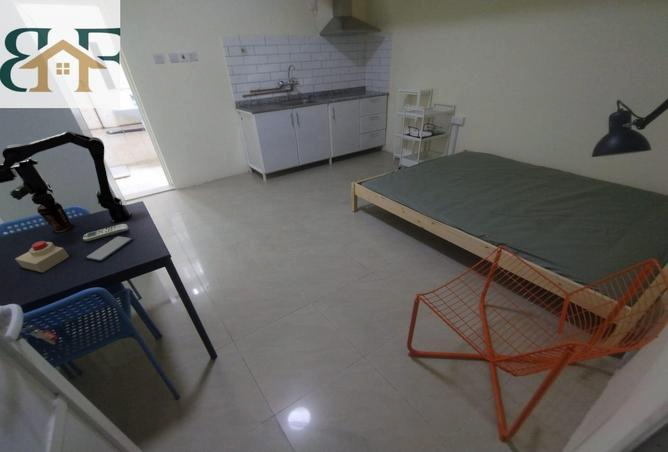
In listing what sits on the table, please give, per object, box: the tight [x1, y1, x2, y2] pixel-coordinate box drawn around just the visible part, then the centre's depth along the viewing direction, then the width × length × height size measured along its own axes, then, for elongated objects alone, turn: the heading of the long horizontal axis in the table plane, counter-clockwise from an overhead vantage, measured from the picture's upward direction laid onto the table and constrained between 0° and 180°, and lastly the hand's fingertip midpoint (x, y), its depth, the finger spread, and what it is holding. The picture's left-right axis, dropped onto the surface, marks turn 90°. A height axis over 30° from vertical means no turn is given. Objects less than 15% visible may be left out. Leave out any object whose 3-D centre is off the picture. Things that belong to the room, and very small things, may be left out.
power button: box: [31, 240, 48, 251], centre depth 110 cm, size 4×4×2 cm
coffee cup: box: [36, 201, 73, 233], centre depth 131 cm, size 9×8×13 cm
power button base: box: [14, 241, 70, 274], centre depth 111 cm, size 10×12×6 cm
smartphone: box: [86, 235, 133, 262], centre depth 118 cm, size 8×1×15 cm
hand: (53, 209), depth 123 cm, fingers open, 9 cm apart
